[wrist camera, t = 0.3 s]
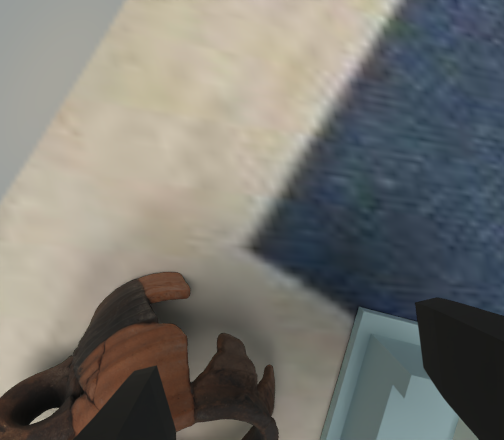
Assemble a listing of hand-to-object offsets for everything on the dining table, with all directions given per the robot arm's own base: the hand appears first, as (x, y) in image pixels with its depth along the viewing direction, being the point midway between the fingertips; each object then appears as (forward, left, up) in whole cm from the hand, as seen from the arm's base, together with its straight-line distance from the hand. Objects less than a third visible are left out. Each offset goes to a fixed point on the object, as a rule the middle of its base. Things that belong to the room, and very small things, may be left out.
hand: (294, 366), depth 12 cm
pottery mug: (-6, +4, -11) cm, 13 cm away
